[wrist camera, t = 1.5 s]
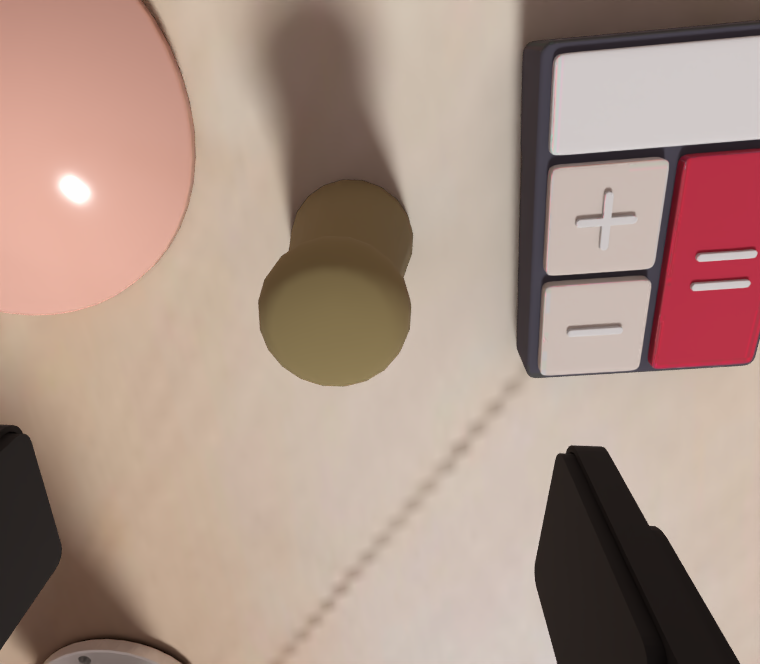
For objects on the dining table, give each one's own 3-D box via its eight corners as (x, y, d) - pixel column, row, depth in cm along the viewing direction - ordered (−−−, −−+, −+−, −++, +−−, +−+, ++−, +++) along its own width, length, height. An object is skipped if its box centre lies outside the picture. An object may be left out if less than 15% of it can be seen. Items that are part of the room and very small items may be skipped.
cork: (326, 316, 29) (292, 439, 19) (268, 212, 27) (196, 288, 17) (432, 270, 28) (455, 374, 18) (381, 157, 26) (376, 205, 16)
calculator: (530, 388, 27) (545, 41, 20) (512, 346, 31) (521, 41, 24) (763, 374, 27) (861, 12, 20) (716, 333, 30) (784, 17, 24)
